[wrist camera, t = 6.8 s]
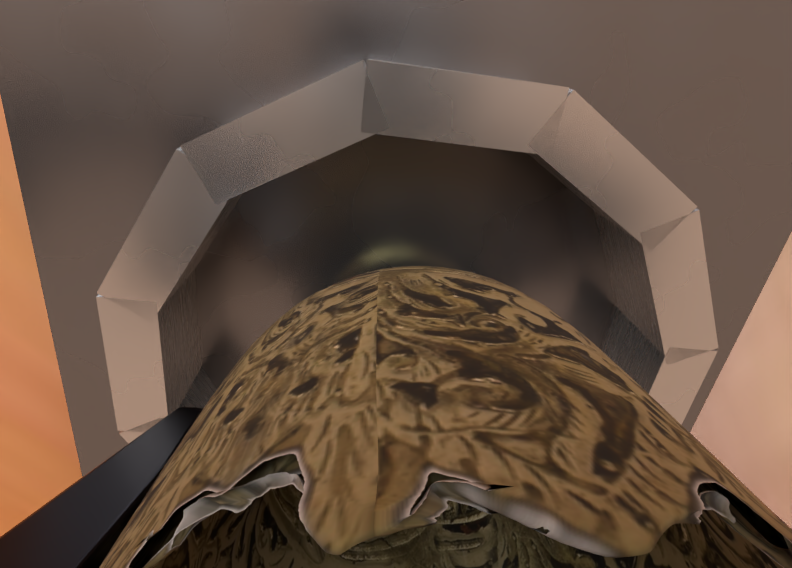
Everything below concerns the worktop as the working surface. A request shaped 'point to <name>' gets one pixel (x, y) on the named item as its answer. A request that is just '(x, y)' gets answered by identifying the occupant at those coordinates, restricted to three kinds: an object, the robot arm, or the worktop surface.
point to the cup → (440, 448)
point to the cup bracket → (391, 174)
